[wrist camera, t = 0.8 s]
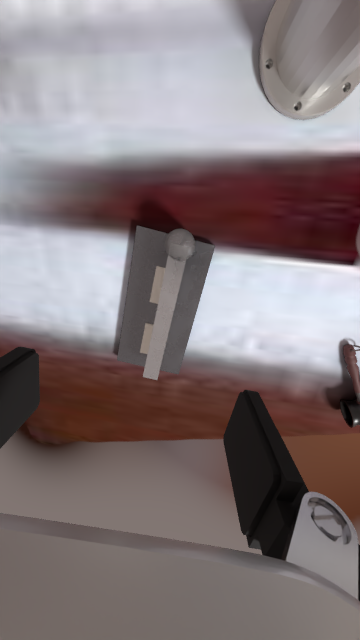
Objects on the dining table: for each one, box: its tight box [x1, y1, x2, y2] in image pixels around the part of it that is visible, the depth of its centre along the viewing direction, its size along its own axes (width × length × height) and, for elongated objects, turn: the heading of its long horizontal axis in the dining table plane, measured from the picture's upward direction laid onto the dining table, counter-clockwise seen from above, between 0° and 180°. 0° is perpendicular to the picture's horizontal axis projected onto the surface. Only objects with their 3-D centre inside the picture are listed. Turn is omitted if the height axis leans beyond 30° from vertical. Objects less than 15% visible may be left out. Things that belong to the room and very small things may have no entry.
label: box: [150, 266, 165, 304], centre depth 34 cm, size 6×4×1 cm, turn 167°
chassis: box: [117, 226, 215, 374], centre depth 36 cm, size 24×12×1 cm, turn 167°
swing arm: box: [143, 229, 195, 380], centre depth 33 cm, size 24×4×4 cm, turn 167°
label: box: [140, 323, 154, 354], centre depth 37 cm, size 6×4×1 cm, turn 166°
